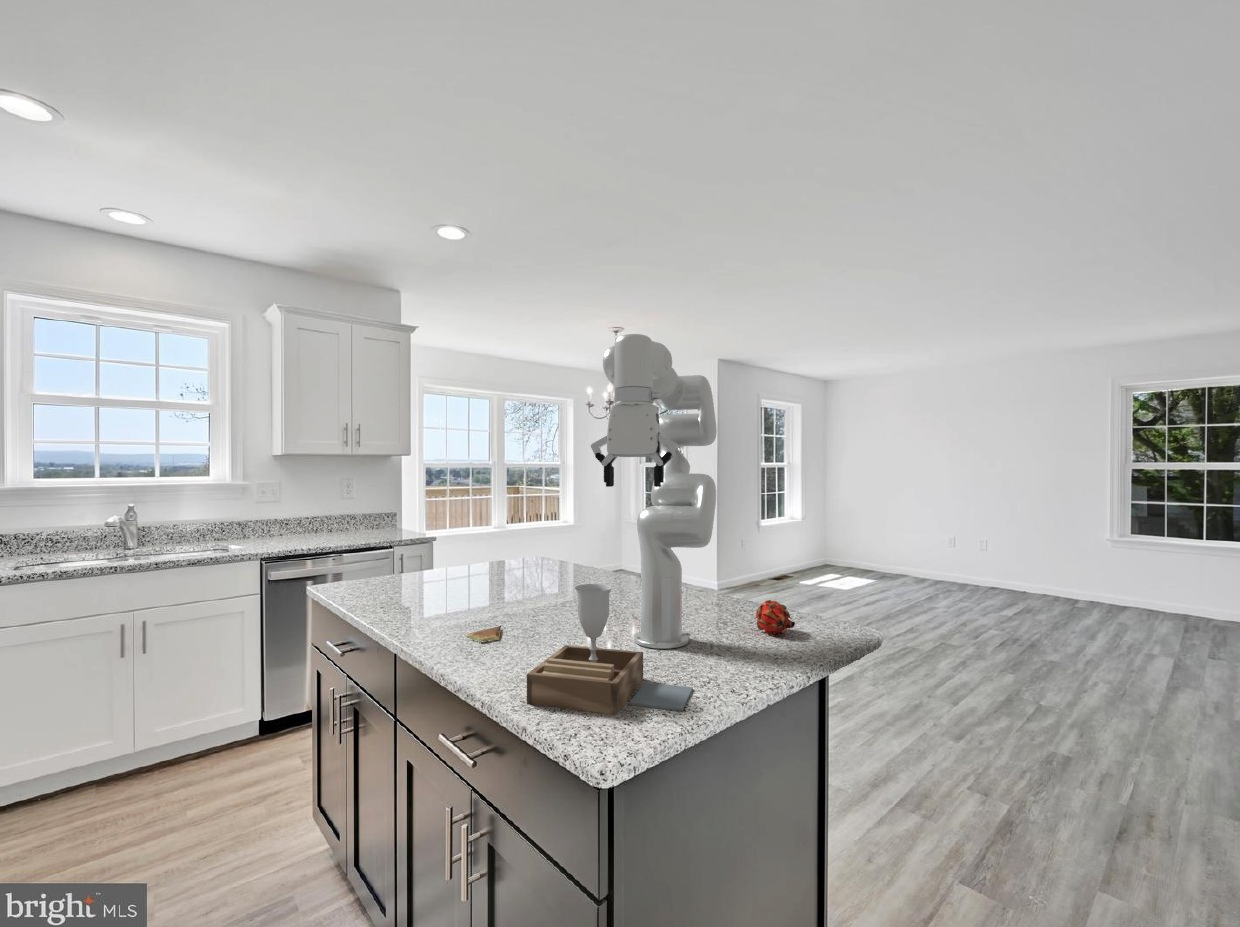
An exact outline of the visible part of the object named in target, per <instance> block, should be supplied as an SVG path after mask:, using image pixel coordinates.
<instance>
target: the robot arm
mask: <svg viewBox="0 0 1240 927" xmlns="http://www.w3.org/2000/svg"><path fill="white" fill-rule="evenodd" d="M602 369H603V371H604V374H605V376H606V378H607V380H609V382H610V383H611V384H612V385H614V397H613V398H614V405H611V406H610V410H609V417H608V422H607V433H606V434H607V435H605V436H604V437H601V438H600V439H598V440H597V441H595V442H592V443H591V444H590V448H591V450H592V452H593V454H594V457H595V459H596V460H597V461H598V462H599V463H600V464H601V465H602V467H603V483H605V487H606V488H608V487H614V485H615V467H614V466H613V463H614V462H615V461H616V460H617V458H618V457H619V458H647V457H649V458H651V459H652V460H653V461H654V462H655V466H654V467H653V482H652V486H651V492H650V501H651V504H652V505H651V506H646V507H645V508H643V509H642V510H641V511H640V512H639V513H638V515H637V519H636V528H637V535H638V541H639V543H638V544H639V548H640V549H639V550H640V631H639V632H637V633H636V634H634V638H633V639H634V642H635V643H636V644H637V645H639V646H642V647H645V648H651V649H658V650H659V649H665V650H667V649H668V650H669V649H675V648H676V649H677V648H680V647H683V646H686V645H688V644H689V636H688V634H686V633H685V632H683V626H682V625H683V620H682V619H683V618H682V617H683V615H682V614H683V609H682V608H683V607H682V606H683V604H682V603H683V595H682V594H683V590H682V589H683V587H682V586H683V580H682V578H683V577H682V576H683V574H682V573H683V570H682V564H681V562H680V559H679V557H678V556H677V555H676V554H675V552H674V551H673V549H672V548H686V549H688V548H690V549H692V548H693V549H695V548H696V549H698V548H699V549H700V548H701V549H702V548H705V547H706V546H708V545H709V544H710V542H711V540H712V536H713V529H714V521H715V513H716V511H715V510H716V505H717V504H716V503H717V486H716V483H715V480H714V479H713V478H712V476H710V475H708V474H706V473H690V472H691V471H690V470H691V466H690V463H689V460H688V459H687V458H686V456H685V455H684V454H682V453H681V451H679V449H677V448H678V447H707V446H710V445H712V444H713V443H714V442H715V441H716V437H717V431H718V429H717V421H716V420H717V419H716V412H715V404H714V397H713V391H712V388H711V384H710V382H709V380H708V379H707V377H706V376H704V375H702V374H700V375H698V374H697V375H679V374H678V373H677V372H676V370H675V369H674V368H673V357H672V353H671V351H670V350H669V349H668V348H667V346H666V345H664V344H663V343H661V342H659V341H658V342H657V341H654V340H652V339H651V337H649V336H648V335H645V334H642V333H641V334H640V333H627V334H623V335H620V336H619V337H617V338H616V340H615V342H614V345H613V346H610V347H608V348H607V349H606V350H605V352H604V354H603V357H602ZM658 407H659V408H660V409H662V410H665V411H689V410H692V411H693V410H697V411H698V413H673V414H671V413H669V414H662V415H660V414H659V408H658ZM603 446H606V450H607V452H606V453H607V454H606V455H604V454H603V452H602V450H601V448H602V447H603Z"/></svg>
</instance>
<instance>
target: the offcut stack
mask: <svg viewBox="0 0 1240 927" xmlns="http://www.w3.org/2000/svg"><path fill="white" fill-rule="evenodd" d="M548 658H549V657H548ZM548 658H547V659H548ZM542 674H552V675H561V676H570V677H580V678H589V679H599V680H608V681H613V680H614V665H613V664H603V663H593V662H583V661H573V660H563V659H553V658H549V659H548V660H547V663H546V664H545V665H544V671H543V672H542Z"/></svg>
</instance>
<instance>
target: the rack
mask: <svg viewBox="0 0 1240 927" xmlns="http://www.w3.org/2000/svg"><path fill="white" fill-rule="evenodd" d="M589 648H590V647H589V646H578V645H570V644H569V645H567V644H565V645H564V646H562V647H561V648H560V649H558V650H557V651H555V652H554V653H553V654H551V655H550V656H549V657H548V658H546V659H544V660H543V661H542V662H541V663H539V664H538V665H537V666H536V667H534V668H533V669H532V670H530V671H529V672H527V673H526V704H527V705H536V706H543V707H550V708H560V709H567V710H575V711H576V710H577V711H582V712H583V711H584V712H591V713H600V714H608V715H615V716H616V715H618V714H619V712H620V711H621V709H622V708H623V707H624V705H625V704H626V702H627V701H628V700H629V699H630V697H631V696H632V694H633V693H634V692H635V690H636V689H637V688H638V686H639V685H640V684H641V683H642V681H643V680H644V651H634V650H623V649H621V650H620V649H613V648H602V647H600V648H599V647H597V648H598V649H597V650H596V657H597V658H598V660H597V661H596V663H603V664H613V665H614V680H613V681H608V680H599V679H589V678H580V677H570V676H561V675H552V674H542V672H543V671H544V665H545V664H546V663H547V660H548V659H549V658H553V659H563V660H573V661H583V662H590V660H589V658H590V656H591V651H590V649H589Z"/></svg>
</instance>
